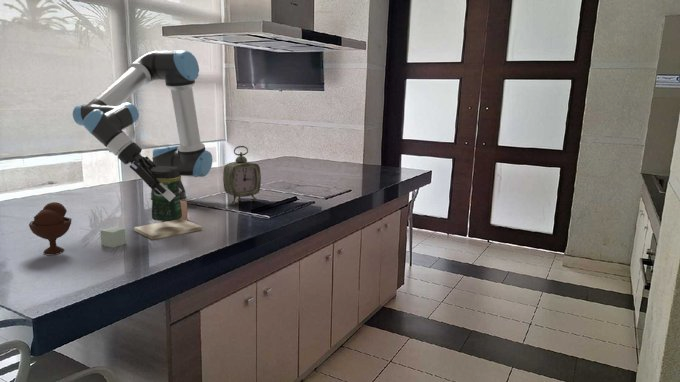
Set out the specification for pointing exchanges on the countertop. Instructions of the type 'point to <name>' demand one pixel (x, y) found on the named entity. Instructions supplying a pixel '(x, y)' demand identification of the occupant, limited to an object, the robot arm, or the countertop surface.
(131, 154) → the robot arm
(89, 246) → the countertop surface
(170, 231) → the birch board
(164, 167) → the coffee jar
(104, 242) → the grey-green block
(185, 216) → the terracotta cup
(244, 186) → the tabletop clock
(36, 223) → the ice cream bowl
